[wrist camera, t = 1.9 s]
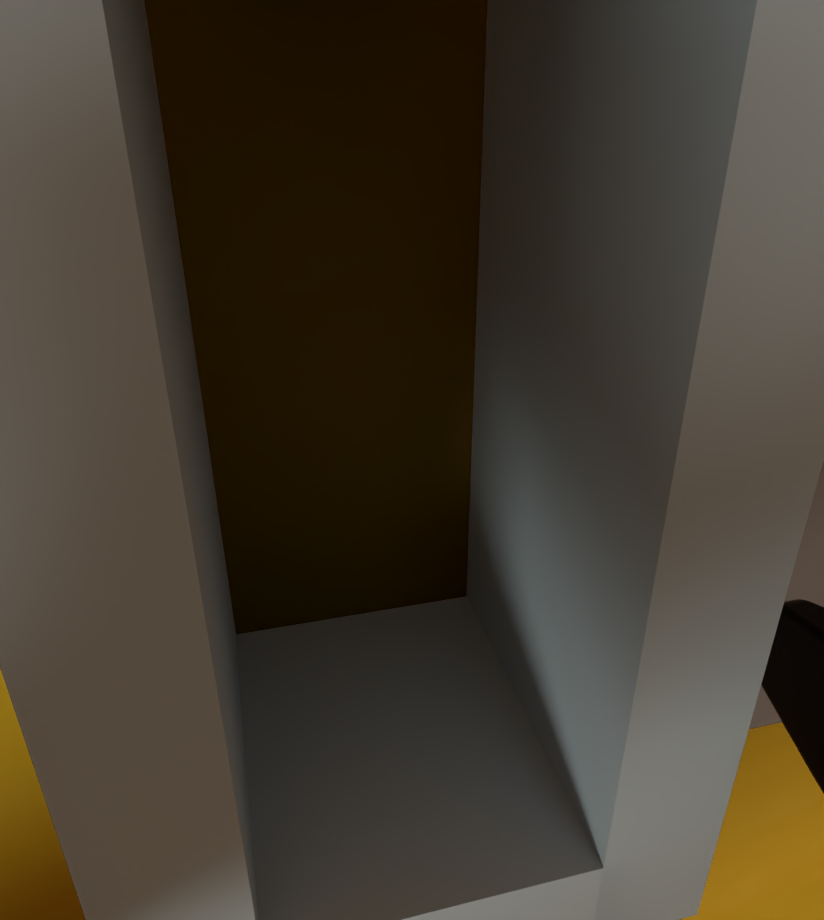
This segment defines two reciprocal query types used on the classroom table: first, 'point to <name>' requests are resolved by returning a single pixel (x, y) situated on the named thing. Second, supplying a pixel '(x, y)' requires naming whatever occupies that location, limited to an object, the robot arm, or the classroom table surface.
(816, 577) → the mat
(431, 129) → the classroom table surface
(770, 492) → the c link
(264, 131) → the classroom table surface
